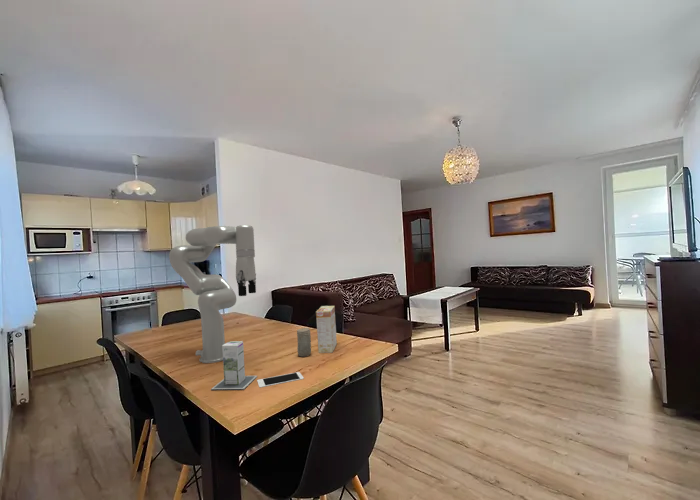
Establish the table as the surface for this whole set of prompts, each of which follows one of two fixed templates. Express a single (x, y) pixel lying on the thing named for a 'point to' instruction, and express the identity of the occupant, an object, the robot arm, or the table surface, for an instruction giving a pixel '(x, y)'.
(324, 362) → the table surface
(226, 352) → the syrup box
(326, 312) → the coffeecake box
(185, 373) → the table surface
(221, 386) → the mat
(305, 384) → the table surface
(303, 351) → the carving
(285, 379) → the cell phone
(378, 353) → the table surface
